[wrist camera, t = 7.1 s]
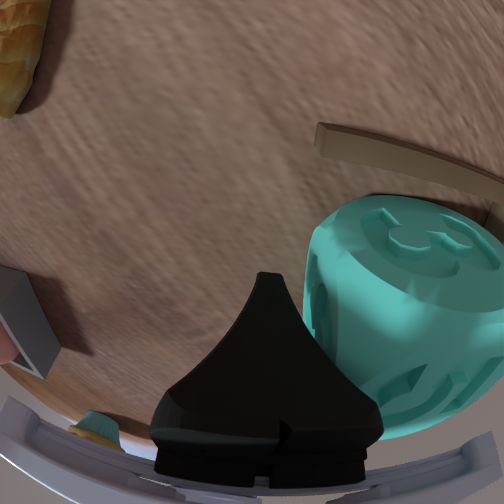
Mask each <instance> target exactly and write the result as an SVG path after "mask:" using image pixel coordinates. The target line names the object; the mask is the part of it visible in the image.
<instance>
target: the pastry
mask: <svg viewBox="0 0 504 504" xmlns="http://www.w3.org/2000/svg"><path fill="white" fill-rule="evenodd" d="M51 2H52V0H0V120H9V119H11V118H12V117H13V115H14V114H15V112H16V110H17V109H18V107H19V105H20V104H21V102H22V100H23V99H24V97H25V96H26V94H27V93H28V91H29V89H30V87H31V85H32V83H33V80H32V78H33V73H34V70H35V67H36V65H37V63H38V62H39V59H40V54H41V49H42V45H43V37H44V34H45V30H46V26H47V19H48V15H49V10H50V6H51Z"/></svg>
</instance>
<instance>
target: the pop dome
mask: <svg viewBox="0 0 504 504" xmlns="http://www.w3.org/2000/svg"><path fill="white" fill-rule="evenodd" d="M19 352H20V351H19V349H18V348H17V346H16V345H15V343H14V342H13V340H12V339H11V337H10V336H9V334H8V332H7V331H6V329H5V328H4V326H3V324H2V322H1V321H0V365H1V364H6V363H9V362H10V361H12V360H13V359H14V358H15V357H16V356H17V355H18V354H19Z"/></svg>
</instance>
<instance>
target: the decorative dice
mask: <svg viewBox="0 0 504 504" xmlns="http://www.w3.org/2000/svg"><path fill="white" fill-rule="evenodd" d="M303 321H304V323H305V325H306V326H307V328H308V330H309V331H310V333H311V334H312V336H313V337H314V339H315V340H316V342H317V343H318V344H319V346H320V347H321V348H322V350H323V351H324V352H325V354H326V355H327V356H328V357H329V359H330V360H331V361H332V362H333V363H334V364H335V365H336V366H337V367H338V368H339V370H340V371H341V372H342V373H343V374H344V375H345V376H346V377H347V378H348V379H349V380H350V381H351V382H352V383H353V384H354V385H355V386H356V387H358V388H359V389H360V390H361V391H362V392H364V393H365V394H366V395H367V396H369V397H370V398H371V399H372V400H374V401H375V402H376V403H377V405H378V408H379V411H380V413H381V417H382V421H383V426H384V433H383V435H382V436H381V437H380V438H379V439H378V440H383V439H390V438H395V437H400V436H404V435H408V434H411V433H414V432H417V431H420V430H423V429H426V428H428V427H431V426H433V425H435V424H437V423H440V422H442V421H444V420H446V419H448V418H449V417H451V416H453V415H455V414H457V413H458V412H460V411H462V410H463V409H465V408H466V407H467V406H469V405H471V404H472V403H473V402H475V401H476V400H477V399H479V398H480V397H481V396H482V395H484V394H485V393H486V392H487V391H488V390H489V389H490V388H491V387H492V386H493V385H494V384H495V383H496V382H497V381H498V380H499V379H500V378H501V377H502V376H503V374H504V246H503V245H502V244H501V242H500V241H499V240H498V239H496V238H495V237H494V236H493V235H492V234H491V233H490V232H488V231H487V230H486V229H484V228H483V227H482V226H480V225H479V224H477V223H476V222H474V221H472V220H471V219H469V218H467V217H465V216H463V215H461V214H459V213H457V212H455V211H453V210H451V209H448V208H446V207H443V206H440V205H437V204H434V203H431V202H427V201H424V200H420V199H415V198H409V197H403V196H392V195H377V196H368V197H362V198H358V199H355V200H353V201H350V202H348V203H347V204H345V205H343V206H342V207H340V208H339V209H337V210H336V211H335V212H333V213H332V214H331V215H330V216H328V217H327V218H326V219H325V220H324V221H323V222H322V223H321V224H320V225H318V226H317V227H316V229H315V230H314V232H313V235H312V238H311V241H310V245H309V250H308V257H307V264H306V273H305V284H304V299H303Z"/></svg>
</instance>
